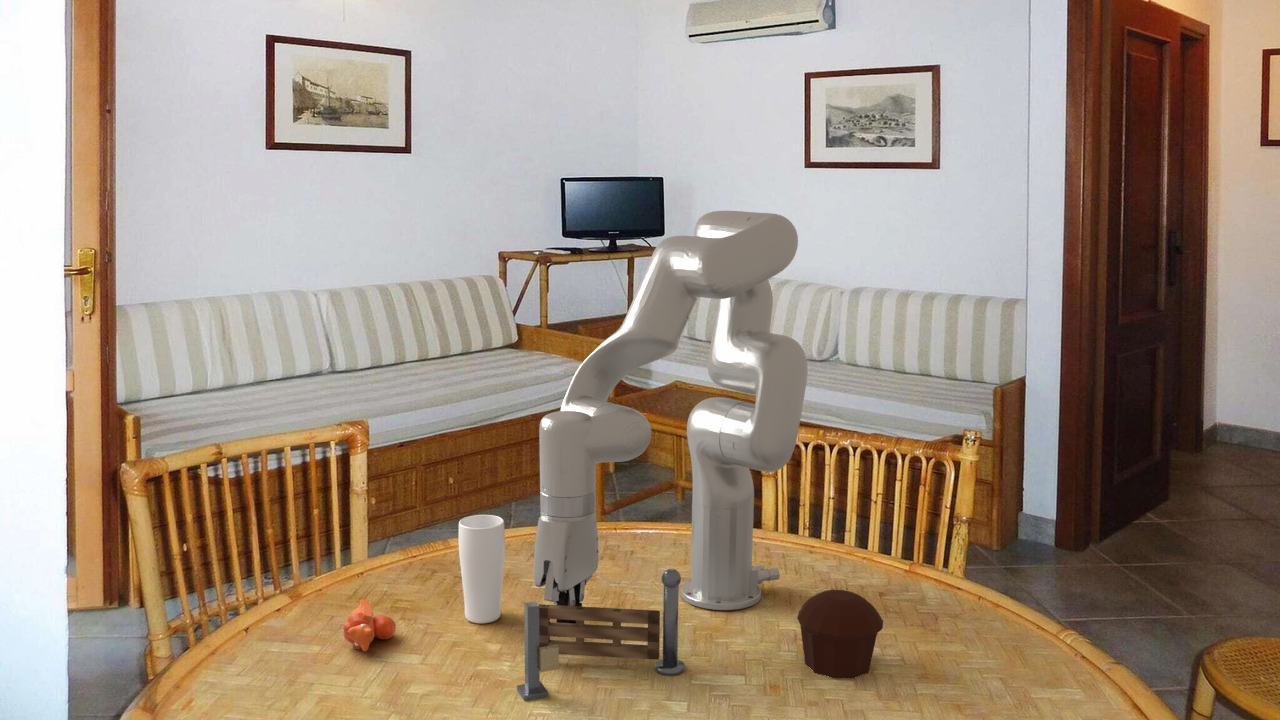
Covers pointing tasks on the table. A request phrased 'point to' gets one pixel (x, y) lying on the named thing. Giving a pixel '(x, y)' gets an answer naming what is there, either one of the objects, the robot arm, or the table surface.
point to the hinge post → (670, 626)
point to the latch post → (536, 656)
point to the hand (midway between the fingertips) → (569, 629)
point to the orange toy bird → (367, 626)
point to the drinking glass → (482, 566)
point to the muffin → (839, 633)
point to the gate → (601, 631)
